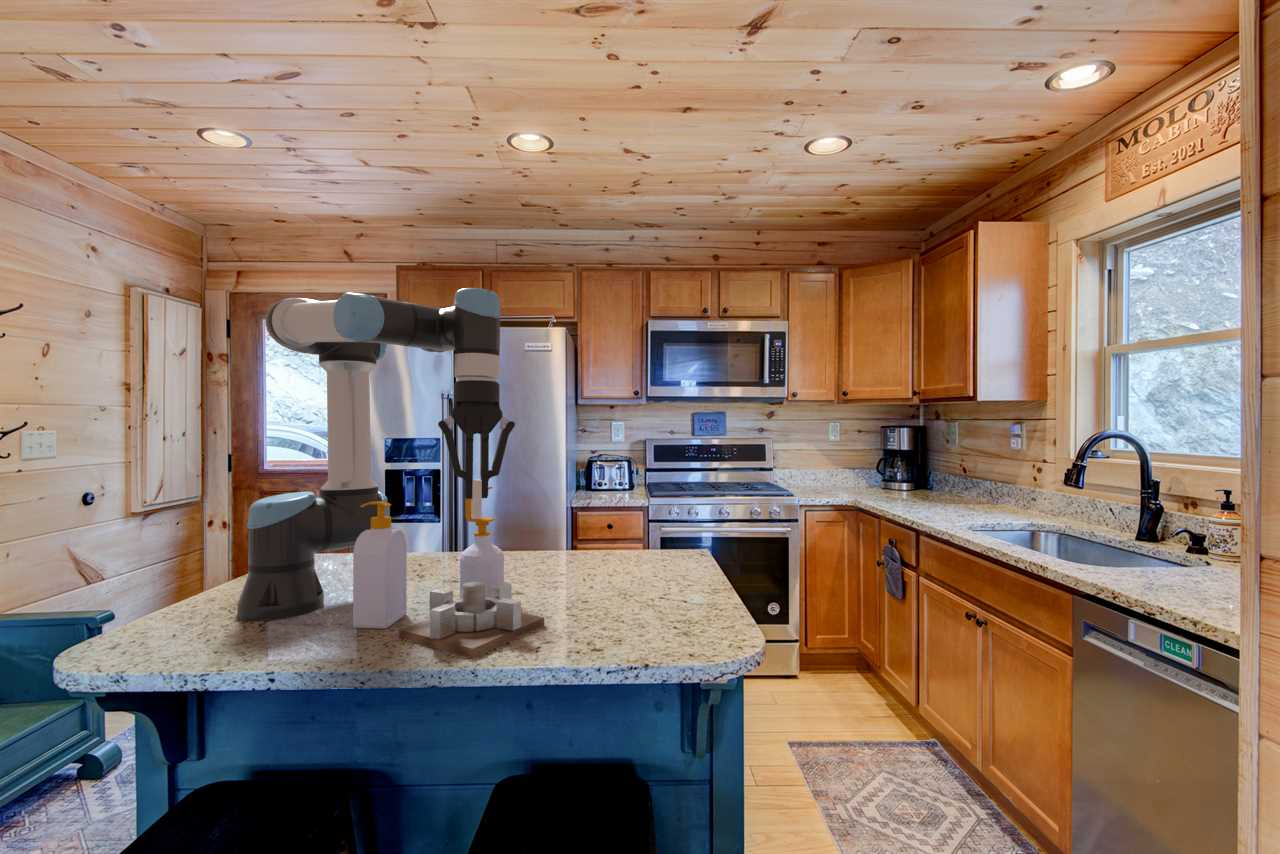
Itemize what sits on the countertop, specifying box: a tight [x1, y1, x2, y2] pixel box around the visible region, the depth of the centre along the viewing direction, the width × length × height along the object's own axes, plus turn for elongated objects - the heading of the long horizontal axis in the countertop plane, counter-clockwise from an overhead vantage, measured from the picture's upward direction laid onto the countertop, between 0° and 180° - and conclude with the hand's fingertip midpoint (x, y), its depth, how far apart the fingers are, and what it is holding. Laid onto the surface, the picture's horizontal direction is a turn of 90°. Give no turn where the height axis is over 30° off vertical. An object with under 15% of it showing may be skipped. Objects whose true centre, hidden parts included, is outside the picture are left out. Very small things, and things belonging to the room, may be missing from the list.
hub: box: [398, 582, 545, 659], centre depth 106 cm, size 18×18×8 cm
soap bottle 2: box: [459, 486, 505, 600], centre depth 125 cm, size 9×9×25 cm
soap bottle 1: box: [352, 501, 408, 629], centre depth 112 cm, size 9×7×23 cm
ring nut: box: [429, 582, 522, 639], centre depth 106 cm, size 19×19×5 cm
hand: (476, 517), depth 101 cm, fingers closed
